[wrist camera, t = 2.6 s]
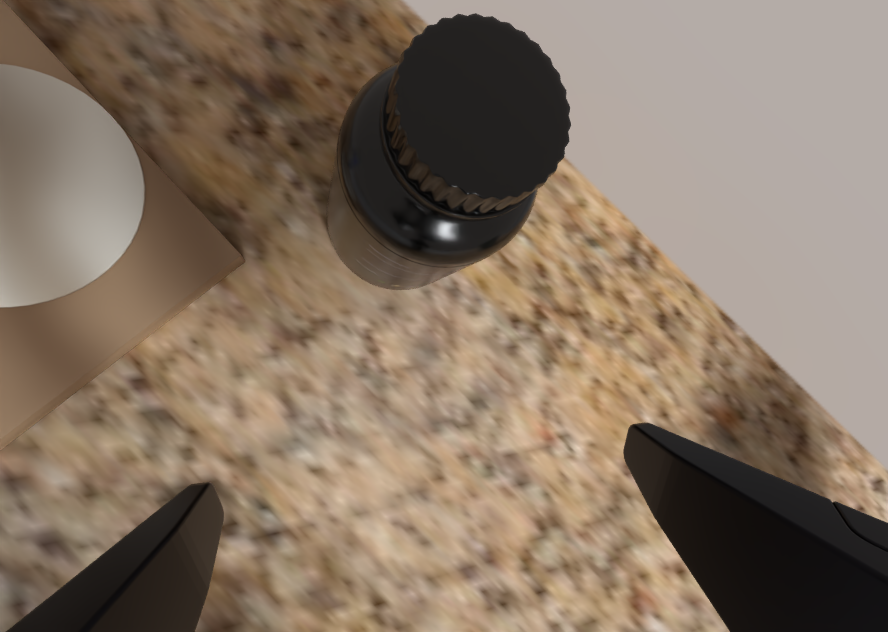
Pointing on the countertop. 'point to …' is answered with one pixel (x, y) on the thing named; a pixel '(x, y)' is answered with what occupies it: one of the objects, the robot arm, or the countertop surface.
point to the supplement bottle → (445, 153)
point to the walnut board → (82, 236)
